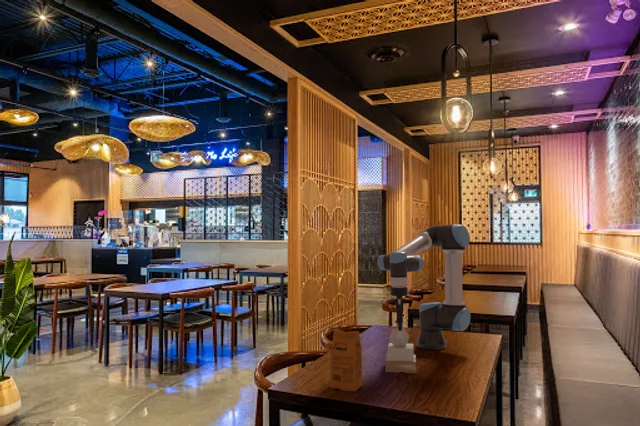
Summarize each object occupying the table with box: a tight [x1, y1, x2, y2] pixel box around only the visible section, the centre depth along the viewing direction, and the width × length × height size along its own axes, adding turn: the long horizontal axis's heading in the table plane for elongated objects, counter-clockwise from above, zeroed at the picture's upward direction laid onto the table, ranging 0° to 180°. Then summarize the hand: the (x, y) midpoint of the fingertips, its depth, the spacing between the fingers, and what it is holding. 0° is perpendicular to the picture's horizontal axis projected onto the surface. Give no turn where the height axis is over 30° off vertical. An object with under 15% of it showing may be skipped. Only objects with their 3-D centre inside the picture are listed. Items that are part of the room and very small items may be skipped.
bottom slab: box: [384, 353, 417, 374], centre depth 199 cm, size 13×13×5 cm
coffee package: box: [329, 328, 363, 392], centre depth 175 cm, size 10×12×22 cm
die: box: [389, 327, 410, 347], centre depth 200 cm, size 8×9×10 cm
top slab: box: [387, 342, 415, 361], centre depth 200 cm, size 11×11×5 cm
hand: (400, 334), depth 199 cm, fingers open, 13 cm apart
